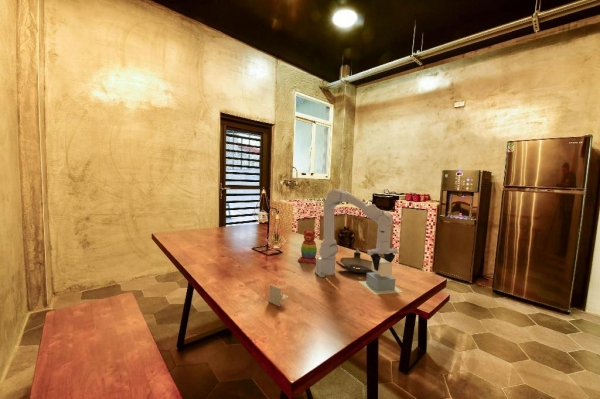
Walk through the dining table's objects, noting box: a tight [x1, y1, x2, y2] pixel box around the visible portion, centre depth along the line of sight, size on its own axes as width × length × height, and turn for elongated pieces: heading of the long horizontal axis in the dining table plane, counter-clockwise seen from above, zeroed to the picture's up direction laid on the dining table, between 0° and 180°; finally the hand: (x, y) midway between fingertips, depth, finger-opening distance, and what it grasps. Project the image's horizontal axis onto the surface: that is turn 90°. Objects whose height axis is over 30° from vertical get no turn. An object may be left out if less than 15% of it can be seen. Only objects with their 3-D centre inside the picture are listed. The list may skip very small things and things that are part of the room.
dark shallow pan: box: [335, 248, 373, 274], centre depth 142 cm, size 22×30×8 cm
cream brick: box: [371, 257, 393, 276], centre depth 117 cm, size 5×8×6 cm, turn 17°
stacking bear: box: [297, 230, 318, 265], centre depth 152 cm, size 11×10×18 cm
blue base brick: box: [365, 271, 396, 292], centre depth 118 cm, size 9×9×5 cm
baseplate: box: [359, 280, 404, 296], centre depth 118 cm, size 14×14×1 cm
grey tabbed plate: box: [268, 284, 289, 307], centre depth 100 cm, size 3×7×7 cm, turn 53°
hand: (381, 269), depth 117 cm, fingers closed on cream brick, 5 cm apart
